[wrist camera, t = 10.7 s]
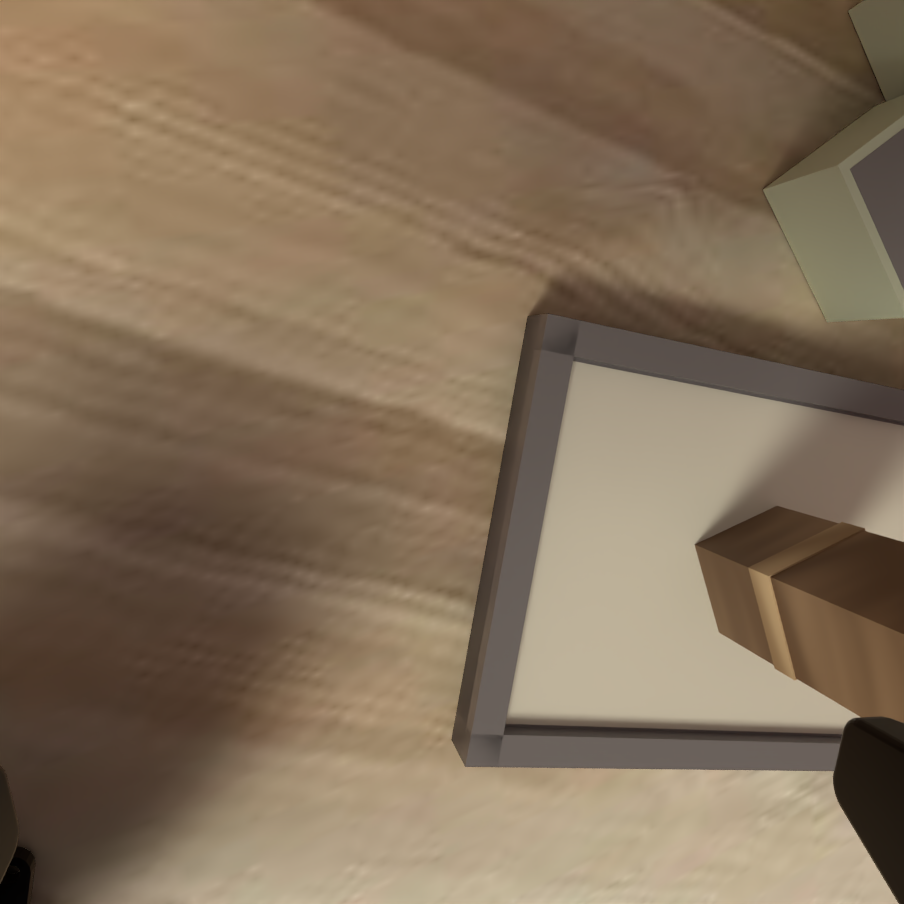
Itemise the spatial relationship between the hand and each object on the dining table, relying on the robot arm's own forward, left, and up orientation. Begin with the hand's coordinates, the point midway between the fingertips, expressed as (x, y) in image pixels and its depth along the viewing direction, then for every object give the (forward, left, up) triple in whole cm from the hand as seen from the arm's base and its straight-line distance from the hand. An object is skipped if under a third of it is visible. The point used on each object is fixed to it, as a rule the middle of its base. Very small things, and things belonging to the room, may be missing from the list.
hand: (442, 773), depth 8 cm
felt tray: (0, -13, -13) cm, 19 cm away
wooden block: (0, -14, -12) cm, 18 cm away
